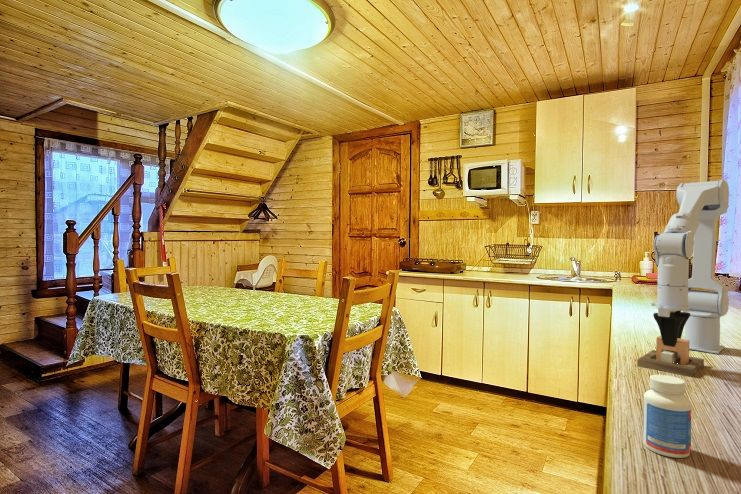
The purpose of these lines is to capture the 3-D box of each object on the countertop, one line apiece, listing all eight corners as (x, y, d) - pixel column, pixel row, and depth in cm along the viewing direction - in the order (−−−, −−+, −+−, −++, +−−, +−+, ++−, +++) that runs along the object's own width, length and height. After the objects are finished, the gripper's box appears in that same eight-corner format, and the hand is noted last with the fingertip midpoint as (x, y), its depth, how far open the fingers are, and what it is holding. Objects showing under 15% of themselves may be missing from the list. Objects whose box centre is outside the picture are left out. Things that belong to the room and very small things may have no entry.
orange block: (659, 358, 98) (660, 335, 98) (689, 364, 94) (689, 339, 94) (656, 361, 96) (656, 337, 96) (685, 366, 92) (686, 342, 92)
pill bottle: (699, 461, 54) (701, 387, 54) (653, 457, 55) (655, 384, 55) (677, 441, 60) (679, 374, 59) (636, 437, 61) (637, 371, 60)
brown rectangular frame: (652, 356, 103) (653, 342, 103) (703, 365, 95) (704, 350, 95) (637, 365, 95) (637, 350, 95) (691, 376, 87) (692, 360, 87)
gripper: (660, 281, 102) (659, 336, 103) (642, 286, 93) (641, 346, 93) (696, 284, 97) (695, 341, 98) (681, 289, 88) (679, 352, 88)
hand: (671, 344), depth 95 cm, fingers closed on orange block, 3 cm apart
